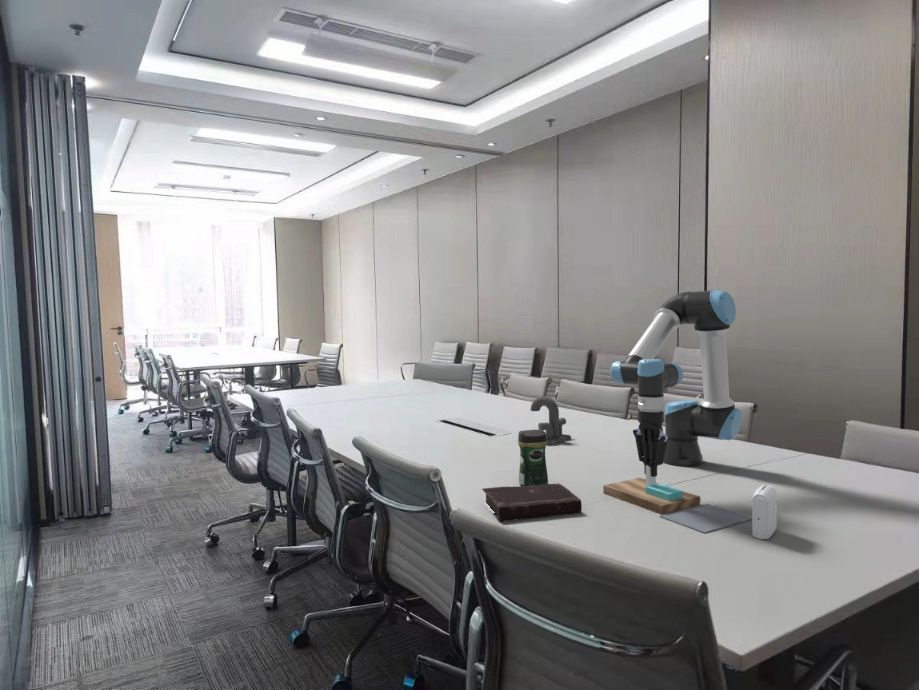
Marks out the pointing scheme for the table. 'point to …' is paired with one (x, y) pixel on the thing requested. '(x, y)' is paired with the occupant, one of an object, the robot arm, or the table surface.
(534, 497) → the diary
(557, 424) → the faucet
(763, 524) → the photo printer
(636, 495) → the wooden board
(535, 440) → the coffee jar
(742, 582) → the table surface
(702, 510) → the mat
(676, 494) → the turquoise flat block
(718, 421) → the robot arm
